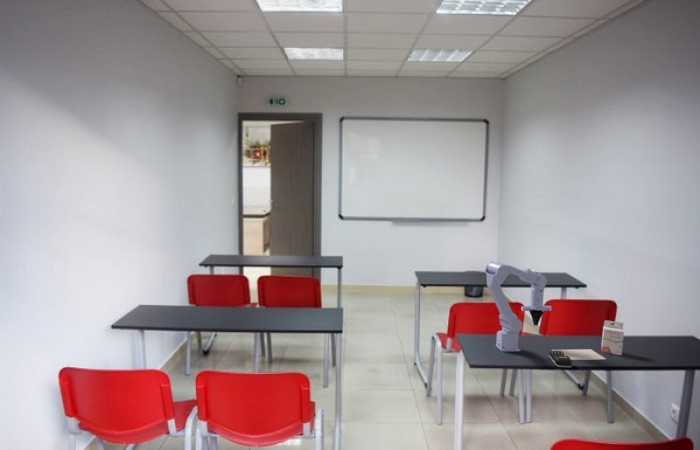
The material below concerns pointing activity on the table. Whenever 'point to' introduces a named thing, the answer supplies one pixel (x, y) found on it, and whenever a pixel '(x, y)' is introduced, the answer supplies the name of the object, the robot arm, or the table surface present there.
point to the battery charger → (560, 359)
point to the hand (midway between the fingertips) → (535, 324)
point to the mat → (582, 354)
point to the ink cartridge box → (612, 338)
